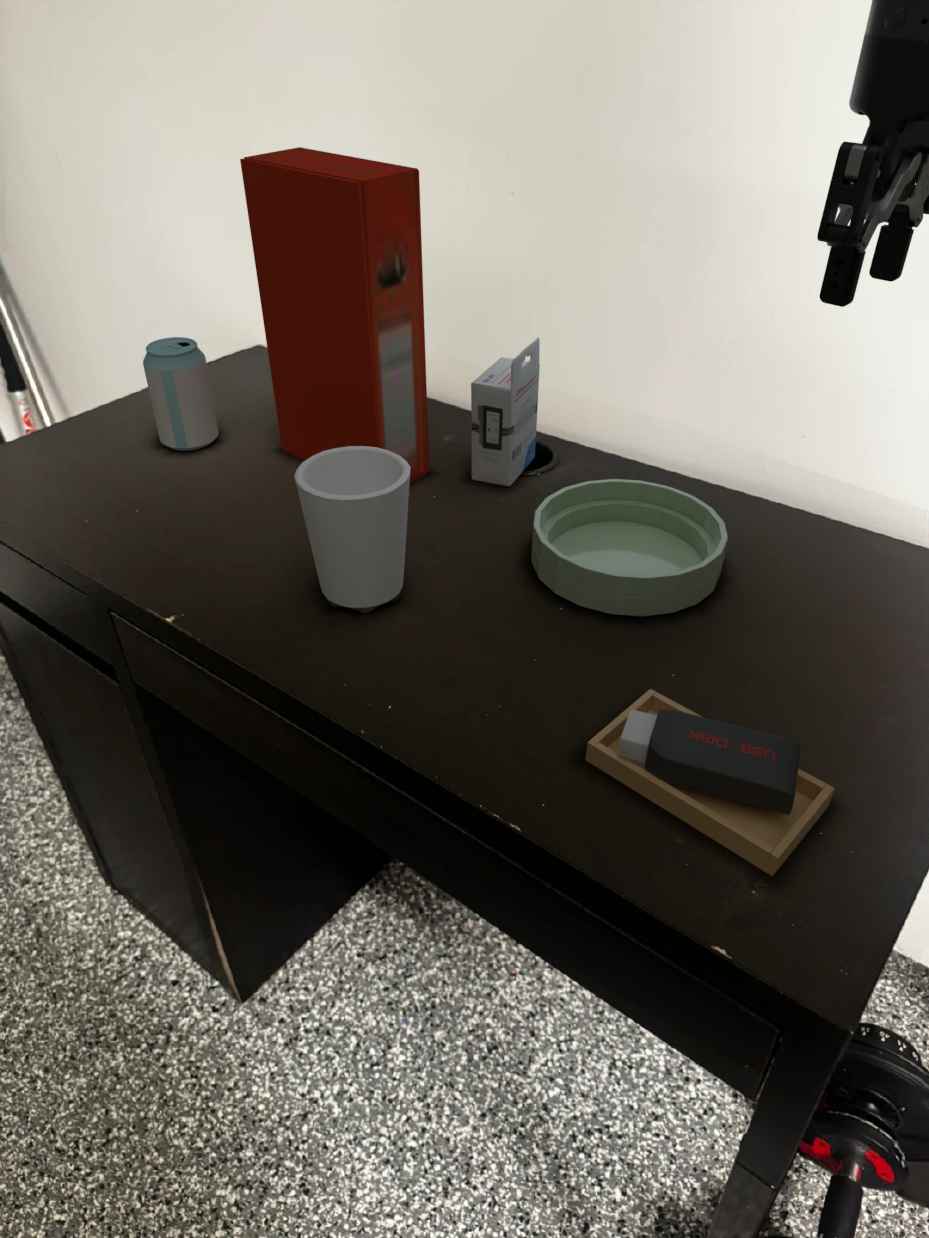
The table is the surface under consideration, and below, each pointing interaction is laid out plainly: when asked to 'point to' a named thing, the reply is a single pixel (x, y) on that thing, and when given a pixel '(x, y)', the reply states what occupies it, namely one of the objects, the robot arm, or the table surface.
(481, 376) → the ink box
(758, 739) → the usb drive
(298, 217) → the file binder
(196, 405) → the can
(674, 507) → the green round dish
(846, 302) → the robot arm
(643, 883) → the table surface
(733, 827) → the tray
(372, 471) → the cup
